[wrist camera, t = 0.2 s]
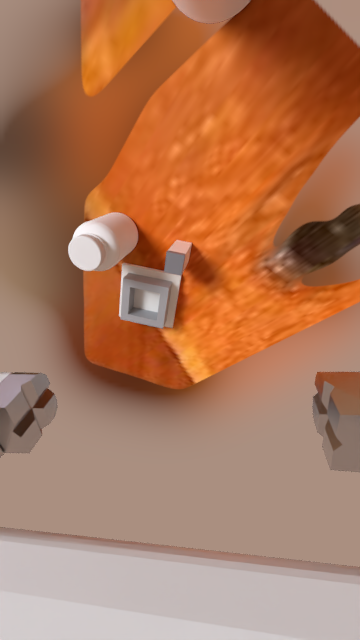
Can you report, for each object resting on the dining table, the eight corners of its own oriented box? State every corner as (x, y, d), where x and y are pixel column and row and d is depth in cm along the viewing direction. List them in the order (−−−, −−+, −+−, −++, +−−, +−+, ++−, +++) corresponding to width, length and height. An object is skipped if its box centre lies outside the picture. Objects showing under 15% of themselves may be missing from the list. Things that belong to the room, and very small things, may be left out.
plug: (176, 239, 54) (166, 251, 46) (192, 243, 54) (184, 255, 46) (173, 257, 56) (163, 272, 48) (188, 260, 56) (181, 275, 48)
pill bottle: (118, 261, 58) (84, 288, 45) (91, 227, 56) (48, 245, 43) (147, 239, 55) (120, 261, 42) (121, 202, 53) (84, 213, 39)
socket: (124, 262, 58) (115, 269, 54) (181, 274, 57) (178, 282, 53) (120, 314, 64) (113, 323, 60) (173, 326, 63) (169, 336, 59)
